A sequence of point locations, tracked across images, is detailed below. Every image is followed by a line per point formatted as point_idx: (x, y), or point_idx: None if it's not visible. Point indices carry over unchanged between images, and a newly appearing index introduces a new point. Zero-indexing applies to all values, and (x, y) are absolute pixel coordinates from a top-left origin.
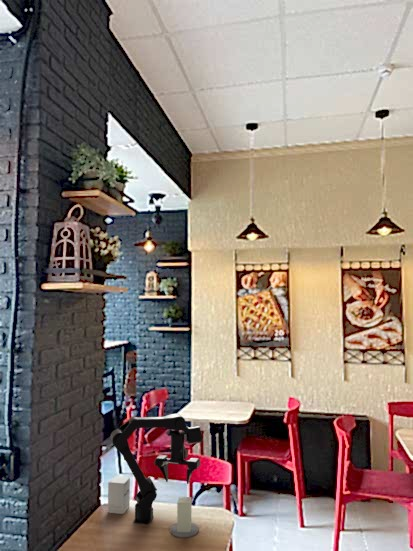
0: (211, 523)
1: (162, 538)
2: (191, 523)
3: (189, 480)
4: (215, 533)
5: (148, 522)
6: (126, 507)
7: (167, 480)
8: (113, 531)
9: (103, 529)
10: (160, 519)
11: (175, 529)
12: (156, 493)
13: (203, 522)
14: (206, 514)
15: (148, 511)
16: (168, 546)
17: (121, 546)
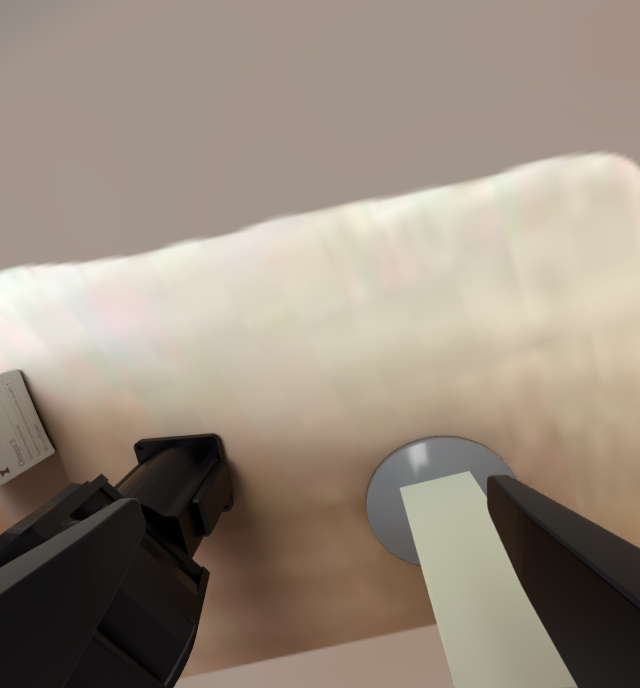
0: (571, 388)
1: (366, 585)
2: (460, 447)
3: (553, 502)
4: (618, 480)
5: (231, 502)
6: (23, 422)
7: (130, 536)
8: None
9: None
10: (264, 440)
11: (398, 526)
12: (183, 649)
13: (517, 393)
14: (509, 288)
15: (201, 536)
16: (420, 627)
17: (241, 665)
